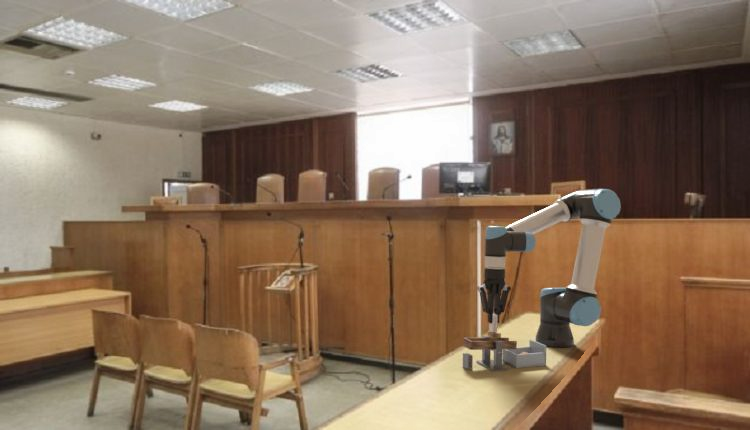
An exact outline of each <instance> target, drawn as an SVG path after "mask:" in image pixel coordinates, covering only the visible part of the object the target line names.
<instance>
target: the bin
mask: <svg viewBox="0 0 750 430" xmlns="http://www.w3.org/2000/svg"><path fill="white" fill-rule="evenodd" d="M522 352H527V353H528V354H521V353H522ZM503 362H504V363H506V364H507V365H509V366H512V367H514V368H516V369H518V368H519V369H521V368H532V367H543V366H547V346H546V345H544V344H541V343H538V342H536V340H533V339H529V346H521V347H520V346H519V347H518V346H517V347H516V349H502V363H503Z"/></svg>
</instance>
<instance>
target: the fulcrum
mask: <svg viewBox="0 0 750 430" xmlns="http://www.w3.org/2000/svg"><path fill="white" fill-rule="evenodd" d="M481 338H491V337H490V336H487V335H482V337H481ZM481 352H482V353H481V360H476V363H477V364H479V365H481V366H482V367H484V368H486V369H487V370H489V371H491V372H497V371H499V372H500V371H508V370H509V368H508V367H507V366H504V365H503V361H502V359H503V349H502V341H494V349H493V350H481ZM491 352H493V359H491ZM473 358H474V356H473V355H472V354H471V353H469V352H462V367H463V368H464V369H466V370H468V371H471V370H473Z"/></svg>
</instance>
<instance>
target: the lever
mask: <svg viewBox="0 0 750 430" xmlns="http://www.w3.org/2000/svg"><path fill="white" fill-rule="evenodd" d="M486 332H487V333H486V334H487V335H486V336H490V337H491V338H482V337H462V346H463V347H464V348H466V349H468V350H470V351H471V350H472V351H474V350H475V351H478V350H479V351H482V350H490V351H492V350H493V349H494V341H502V350H503V349H516V348H518V346H517V343H518V341H517V340H510V338H509V337H502V333H501V332H499V331H497V333H492V332H490V331H489V330H488V331H486Z"/></svg>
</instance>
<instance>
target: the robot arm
mask: <svg viewBox="0 0 750 430" xmlns="http://www.w3.org/2000/svg"><path fill="white" fill-rule="evenodd" d="M621 208H622V206H621V200H620V197H618V194H617V193H616V192H615V191H613V190H611V189H610V188H592V189H591V188H590V189H580V190H579V189H578V190H576V191H573V192H571V193H569V194H567V195H564V196H562V197H561V198H558V199H556V200H554V201H553V204H551V205H549V206H547V207H545V208H543V209H541V210H539V211H537V212H534V213H532V214H530V215H528V216H526V217H524V218H522V219H520V220H517V221H515V222H513V223H512V224H509V225H506V226H501V225H500V226H499V225H495V226H494V225H488V226H487V227H486V228H485V232H484V234H485V235H484V267H485V268H484V271H483V272H484V275H483V278H484V281H483V284H482V285H481V286H480V285H479V286H477V290H478V292H479V296H480V302H481V308H482V312H484V313H485V314H487V323H488V331H490V332H492V333H497V332H498V324H499V323H500V315H502V313H505V311H506V310H505V309H506V305H507V303H508V302H507V301H508V297H509V293H510V291H511V290H512V287H511V286H508V285H507V284H506V281H505V278H506V269H505V268H506V254H507V253H509V252H510V253H526V252H527V253H529V252H532V251H534V249H535V247H536V236H535V234H537V233H539V232H541V231H542V232H543V230H546V229H548V228H550V227H552V226H554V225H556V224H558V223H560V222H564V223H565V222H568V221H570V220H573V219H579V222H580V223H581V225H582V226H581V231H580V236H579V240H578V245H577V246H578V247H577V251H576V256H575V261H574V267H573V272H572V276H571V282H570V284H568V285H567V286H566V287H544V288H542V289H541V290H540V295H539V299H540V302H539V303H540V307H539V309H540V310H539V312H540V314H539V315H540V316H539V318H540V319H539V326H538V329H537V332H536V334H535V341H536V342H538V343H541V344H544V345H546V347H551V348H552V347H553V348H570V347H573V346H575V338H574V336H573V332H572V329H571V326H570V325H571V324H573V325H575V326H578V327H580V326H581V327H589V326H590V327H591V325H594V324H595V323H596V322H597V321H598V320H599V319H600V315H601V313H602V312H601V311H602V306H601V304H600V302H599V300H598V299H597V297H598V293H597V291H596V289H595V286H596V285H595V284H596V280H597V276H598V275H597V274H598V269H599V265H600V261H601V253H602V248H603V243H604V238H605V234H606V229H607V228H609V227H610V226H611V224H612V220H614V219H615V218H617V216H619V214H620V212H621Z"/></svg>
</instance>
